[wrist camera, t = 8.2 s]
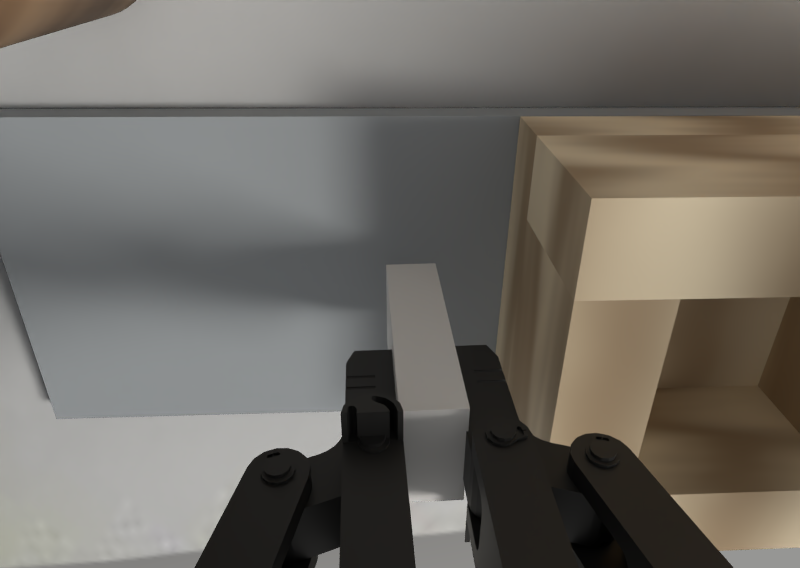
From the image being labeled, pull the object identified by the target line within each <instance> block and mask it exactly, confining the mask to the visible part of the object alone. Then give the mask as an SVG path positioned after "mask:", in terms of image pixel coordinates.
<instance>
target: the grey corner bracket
mask: <svg viewBox="0 0 800 568" xmlns="http://www.w3.org/2000/svg"><path fill="white" fill-rule="evenodd" d="M520 116H800V107H620V108H139V109H0V254H1V257H2V260H3V263H4V266H5V269H6V272H7V275H8V278H9V281H10V283H11V286H12V289H13V292H14V295H15V298H16V301H17V304H18V307H19V310H20V313H21V316H22V319H23V322H24V325H25V328H26V331H27V334H28V336H29V339H30V342H31V345H32V348H33V351H34V354H35V357H36V360H37V363H38V366H39V369H40V372H41V375H42V378H43V381H44V384H45V387H46V389H47V392H48V395H49V398H50V401H51V404H52V407H53V410H54V413H55V416H56V419H70V418H107V417H145V416H182V415H220V414H257V413H295V412H332V411H342V408H343V405H344V404H345V390H346V362H347V361H348V359H349V358H350V356H351V355H352V353H353V352H354V351H363V350H388V345H387V293H386V265H393V264H427V263H435V264H436V268H437V272H438V276H439V281H440V285H441V289H442V293H443V297H444V302H445V306H446V310H447V314H448V318H449V322H450V327H451V331H452V335H453V339H454V343H455V346H466V345H487V346H488V347H489V348H490V349H491V350H492V351H493V352H494V353H496V343H497V334H498V324H499V315H500V305H501V295H502V286H503V276H504V267H505V257H506V248H507V238H508V229H509V219H510V209H511V200H512V190H513V181H514V171H515V162H516V152H517V143H518V133H519V123H520Z"/></svg>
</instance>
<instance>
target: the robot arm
mask: <svg viewBox="0 0 800 568" xmlns="http://www.w3.org/2000/svg"><path fill="white" fill-rule="evenodd" d="M386 293H387V345H388V350H363V351H354V352H353V353H352V355H351V356H350V358H349V359H348V361H347V362H346V390H345V404H344V405H343V408H342V411H341V427H342V438H341V439H340V441H339V442H338V443H337V444H336V445H335V446H334V447H332V448H331V449H329V450H328V451H326V452H324V453H321V454H319V455H316V456H312V457H309V458H307V457H305V456H304V455H303V454H302V453H300V452H299V451H296V450H293V449H289V448H276V449H273V450H269V451H266V452H264V453H262V454H261V455H259V456H257V457H256V458H254V459H253V461H252V462H251V463H250V464H249V466H248V467H247V469H246V471H245V473H244V474H243V476H242V478H241V480H240V482H239V484H238V486H237V488H236V490H235V492H234V494H233V495H232V497H231V499H230V501H229V503H228V505H227V507H226V509H225V511H224V513H223V515H222V516H221V518H220V520H219V522H218V524H217V526H216V528H215V530H214V532H213V534H212V536H211V537H210V539H209V541H208V543H207V545H206V547H205V549H204V551H203V553H202V555H201V557H200V558H199V560H198V562H197V564H196V566H195V568H315V565H316V563H317V559H318V555H319V554H322V553H325V552H327V551H330V550H333V549H336V548H338V547H340V568H416V567H415V557H414V546H413V535H412V525H411V514H410V504H409V502H425V501H446V500H464V486H465V491H466V496H467V501H468V504H467V517H466V530H465V542H470V541H471V546H472V551H473V557H474V562H475V568H733V567H732V565H731V564H730V563H729V562H728V561H727V560H726V559H725V557H724V556H723V555H722V554H721V553H720V552H719V551H718V549H717V548H716V547H715V546H714V545H713V544H712V543H711V541H710V540H709V539H708V538H707V537H706V536H705V534H704V533H703V532H702V531H701V530H700V529H699V528H698V526H697V525H696V524H695V523H694V522H693V521H692V520H691V518H690V517H689V516H688V515H687V514H686V513H685V512H684V510H683V509H682V508H681V507H680V506H679V505H678V503H677V502H676V501H675V500H674V499H673V498H672V497H671V495H670V494H669V493H668V492H667V491H666V490H665V489H664V487H663V486H662V485H661V484H660V483H659V482H658V481H657V479H656V478H655V477H654V476H653V475H652V474H651V472H650V471H649V470H648V469H647V468H646V467H645V466H644V464H643V463H642V462H641V461H640V460H639V459H638V458H637V456H636V455H635V454H634V453H633V452H632V451H631V450H630V448H629V447H627V446H626V445H625V444H624V443H623V442H621V441H620V440H618V439H616V438H614V437H612V436H609V435H605V434H600V433H588V434H583V435H581V436H579V437H577V438H576V439H575V440H574V441H573V442H572V444H571V446H566V445H561V444H555V443H551V442H548V441H544V440H541V439H539V438H537V437H535V436H534V435H533V434H532V433H531V431H530V430H529V428H528V426H526V425H525V424H524V423H522V422H521V421H520V420H519V418H518V415H517V412H516V409H515V406H514V403H513V400H512V397H511V394H510V391H509V388H508V385H507V382H506V379H505V376H504V373H503V372H502V367H501V364H500V361H499V358H498V356H497V355H496V354H495V353H494V352H493V351H492V350H491V349H490V348H489V347H488V346H487V345H466V346H455V343H454V339H453V335H452V331H451V327H450V322H449V318H448V314H447V310H446V306H445V302H444V297H443V293H442V289H441V285H440V281H439V276H438V272H437V268H436V264H435V263H427V264H393V265H386Z"/></svg>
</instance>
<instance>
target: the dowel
mask: <svg viewBox="0 0 800 568" xmlns="http://www.w3.org/2000/svg"><path fill="white" fill-rule="evenodd" d="M135 1H136V0H0V48H2V47H6V46H9V45H12V44H16V43H19V42H22V41H26V40H29V39H32V38H36V37H39V36H43V35H46V34H49V33H53V32H56V31H59V30H63V29H66V28H69V27H73V26H76V25H80V24H83V23H86V22H90V21H93V20H96V19H100V18H103V17H106V16H110V15H113V14H116V13H118V12H121V11H122V10H124V9H126V8H128V7H129V6H130V5H131V4H133V3H134V2H135Z"/></svg>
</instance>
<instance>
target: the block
mask: <svg viewBox="0 0 800 568" xmlns="http://www.w3.org/2000/svg"><path fill="white" fill-rule="evenodd" d="M495 354H496V355H497V356H498V358H499V361H500V364H501V367H502V372H503V373H504V376H505V379H506V382H507V385H508V388H509V391H510V394H511V397H512V400H513V403H514V406H515V409H516V412H517V415H518V418H519V420H520V421H521V422H522V423H524V424H525V425H526V426H528V428H529V430H530V431H531V433H532V434H533V435H534V436H535V437H537V438H539V439H541V440H544V441H548V442H551V443H555V444H561V445H566V446H571V444H572V442H573V441H574V440H575V439H576V438H577V437H579V436H581V435H583V434H588V433H600V434H605V435H609V436H612V437H614V438H616V439H618V440H620V441H621V442H623V443H624V444H625V445H626V446H627V447H629V448H630V450H631V451H632V452H633V453H634V454H635V455H636V456H637V458H638V459H639V460H640V461H641V462H642V463H643V464H644V466H645V467H646V468H647V469H648V470H649V471H650V472H651V474H652V475H653V476H654V477H655V478H656V479H657V481H658V482H659V483H660V484H661V485H662V486H663V487H664V489H665V490H666V491H667V492H668V493H669V494H670V495H671V497H672V498H673V499H674V500H675V501H676V502H677V503H678V505H679V506H680V507H681V508H682V509H683V510H684V512H685V513H686V514H687V515H688V516H689V517H690V518H691V520H692V521H693V522H694V523H695V524H696V525H697V526H698V528H699V529H700V530H701V531H702V532H703V533H704V534H705V536H706V537H707V538H708V539H709V540H710V541H711V543H712V544H713V545H714V546H715V547H716V548H717V549H718V551H723V550H749V549H773V548H800V116H520V123H519V133H518V143H517V152H516V162H515V171H514V181H513V190H512V200H511V209H510V219H509V229H508V238H507V248H506V257H505V267H504V276H503V286H502V295H501V305H500V315H499V324H498V334H497V343H496V353H495Z"/></svg>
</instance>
